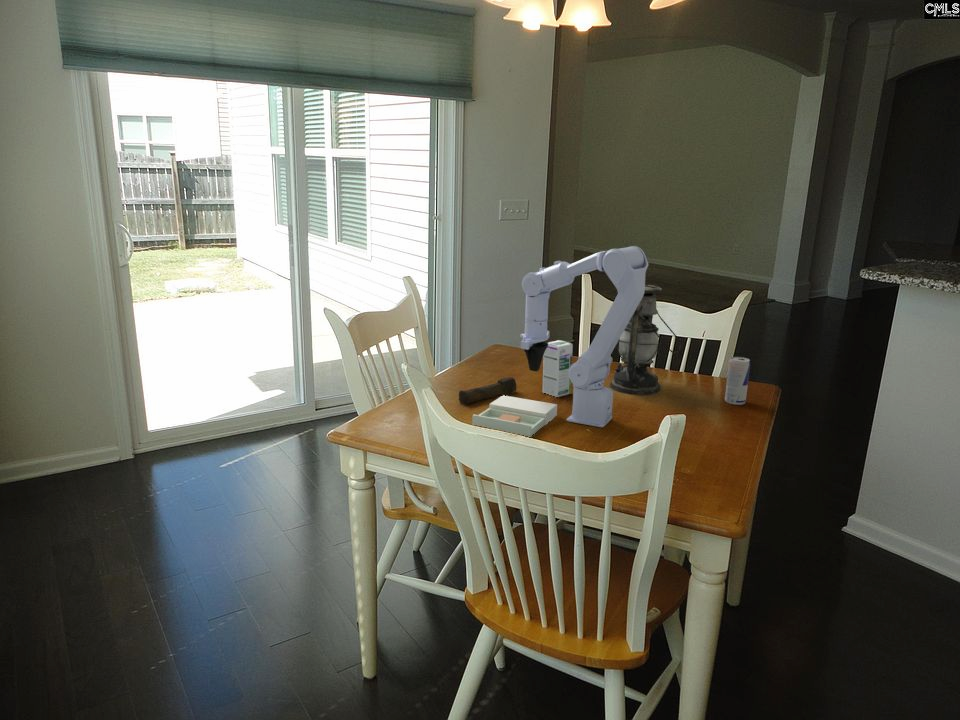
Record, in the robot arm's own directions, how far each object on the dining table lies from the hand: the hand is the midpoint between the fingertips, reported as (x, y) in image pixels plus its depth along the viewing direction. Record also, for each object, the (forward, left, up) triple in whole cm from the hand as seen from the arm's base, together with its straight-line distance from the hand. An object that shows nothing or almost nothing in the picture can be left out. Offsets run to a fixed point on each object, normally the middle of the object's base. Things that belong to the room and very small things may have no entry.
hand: (534, 370), depth 182 cm
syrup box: (-2, -12, -10) cm, 15 cm away
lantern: (-22, -29, -10) cm, 38 cm away
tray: (-1, +18, -9) cm, 20 cm away
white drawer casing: (-1, +9, -9) cm, 13 cm away
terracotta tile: (-1, +19, -7) cm, 20 cm away
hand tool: (+13, 0, -10) cm, 16 cm away
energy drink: (-47, -29, -10) cm, 56 cm away
